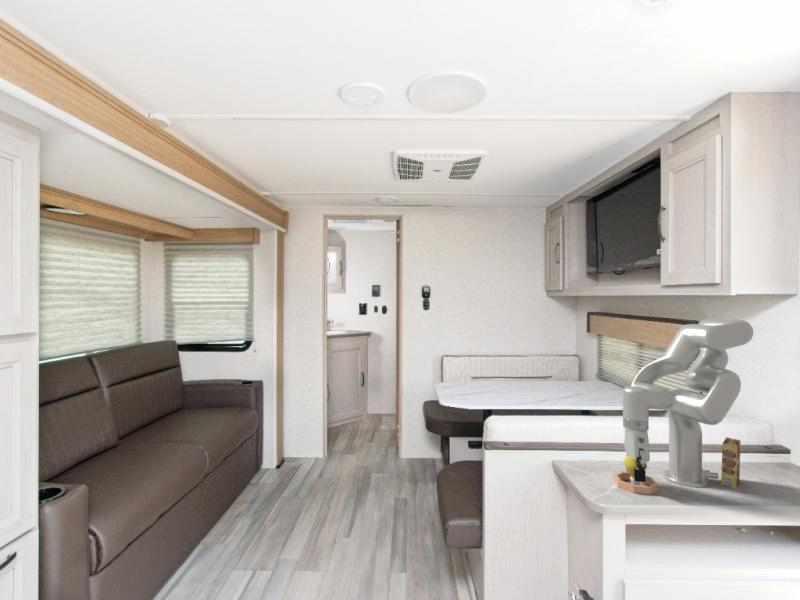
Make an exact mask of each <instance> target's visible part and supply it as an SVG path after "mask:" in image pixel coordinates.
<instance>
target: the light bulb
mask: <svg viewBox="0 0 800 600" xmlns="http://www.w3.org/2000/svg"><path fill="white" fill-rule="evenodd" d="M636 459H638V460H640V458H636ZM623 461H624V462H623V464H624V466H625V469H627V470H626V472H627V471H628V472H629V474H630V475H631V476H630V480H629V481H631V484H632V485H637V486H641V484H640V483H641V482H638V481H635V480H634V469H636V468H635V461H634V460H633V459H632V458H631V457H630V456H629V455H628V456H627V457H626V456H625V458H624V460H623ZM639 463H640V462H638V465H639ZM647 469H648V464H647V465H646V470H647Z"/></svg>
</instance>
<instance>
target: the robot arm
mask: <svg viewBox="0 0 800 600" xmlns="http://www.w3.org/2000/svg"><path fill="white" fill-rule="evenodd" d="M753 336H754V329H753V326H752V325H751V323H750V322H748V321H746V320H743V319H729V318H705V319H701V320H700V321H699V322H698V323H697V324H696V323H690V324H689V323H688V324H684V325H682V326H681V327H680V328H679V329H678V330H677V332H676V333H675V335H674V337H673V338H672V339H671V341H670V342H669V345H668V346H667V347H666V349H665V351H664V353H663V354H662V356H660V357H659V358H657V359H655V360H653V361H651V362H650V363H648V364H647V365H645V366H643V368H641V369H640V370H639V371H638V373H636V375H635V377H634V379H633V381H632V382H631V384H630V386H629V385H628V386H625V387H623V390H622V427H623V429H624V438H623V439H624V440H623V441H624V443H623V444H624V450H625V453H626V455H625V458H626V457H627V456H628V455H629V456H630V457H631V458H632V459H633V460H634V461H635V468H636V469H634V480H635V481H638V482H640V483H642V482H645V481H646V476H647V475H646V474H647V473H646V471H647V469H646V465H647V466H648V462H650V460H651V458H650V457H651V455H650V442H649V433H648V431H649V430H650V429H649V427H650V426H649V415H650V414H649V410H659V411H660V410H661V411H663V410H666V411H667V417H668V418H667V419H668V469H666V470H664V471H663V476H664V478H665V479H666V480H668V481H670V483H671V482H672V483H673V484H676V485H680V486H684V487H688V488H705V487H707V486H708V484H709V481H708V479H719V478H720V476H719V474H718V472H713V471H712V472H711V471H710V470H709V469H703V431H702V427H701V424H704V425H709V426H714V425H718V424H720V423H722V421H723V420H724V419H725V417H726V416H727V415H728V413H729V411H730V410H731V408H732V406H733V405H734V403H735V402H736V400H737V398H738V397H739V394H740V393H741V389H742V388H741V387H742V383H741V378H740V376H739V375H738V374H737V373H736V372H734V371H733V370H730V369H728V368H726V367H727V365H728V363H729V355H728V352H727V351H726V350H728V349H732V348H736V347H741V346H744V345H746V344H748V343H749V342H750V341H751V340H752V339H753ZM684 372H687V373H686V375H685V376H684V383H685V385H686V387H687V388H689V389H690V390H689V389H683V388H674V389H672V390H669V389H668V388H666V387H663V386H659V385H655V384H654V383H656V382H657V381H658V380H660V379H661V378H663V377H666V376H670V375H675V374H680V373H684ZM700 423H701V424H700ZM636 458H640V460H638V459H636ZM638 462H640V463H639V465H638ZM625 469H626V468H625ZM626 472H628V471H627V469H626Z"/></svg>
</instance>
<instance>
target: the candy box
mask: <svg viewBox="0 0 800 600" xmlns="http://www.w3.org/2000/svg"><path fill="white" fill-rule="evenodd" d="M741 442H742V441H741V439H738V438H734V437H725V439H724V441H723V442H722V448H721V449H722V450H721V475H720V476H721V481H720V482H721V483H720V485H721V486H724V485H725V487H728V486H729V487H728V488H732V487H733V489H737V487H738V485H739V483H738V482H740V475H741V474H740V473H741V471H740V470H741V469H740V468H741ZM737 484H738V485H737Z"/></svg>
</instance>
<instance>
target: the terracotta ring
mask: <svg viewBox="0 0 800 600" xmlns="http://www.w3.org/2000/svg"><path fill="white" fill-rule="evenodd" d="M630 476H631V475H630V474H629V472H627V470H626V471H625V470H621V471H618V472H616V473H613V483H614V484H615V486H616V487H617V488H618V489H620V490H623V491H627V492H629V493H632V494H636V495H640V494H641V495H653V494H655V493H656V492H658V491H659V484H658V483H657V481H656V480H655V479H654V478H653V477H651V476H648V475H646V481H645V482H641V483H642V484H645V485H648V486H645V485H639V486H637V485H633V484H632V483H629V482H626V481H631V480H630Z"/></svg>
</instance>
